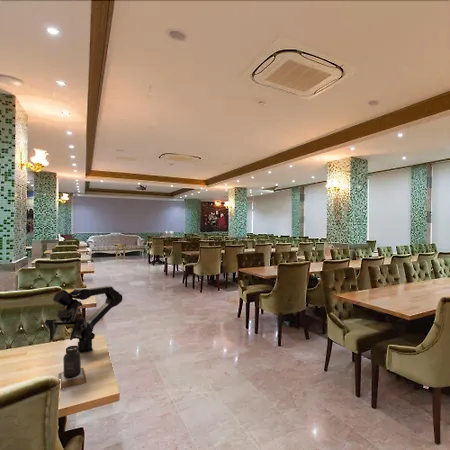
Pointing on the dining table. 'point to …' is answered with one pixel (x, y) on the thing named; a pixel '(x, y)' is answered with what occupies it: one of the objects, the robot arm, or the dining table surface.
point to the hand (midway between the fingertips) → (60, 340)
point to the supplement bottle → (72, 362)
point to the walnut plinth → (72, 379)
